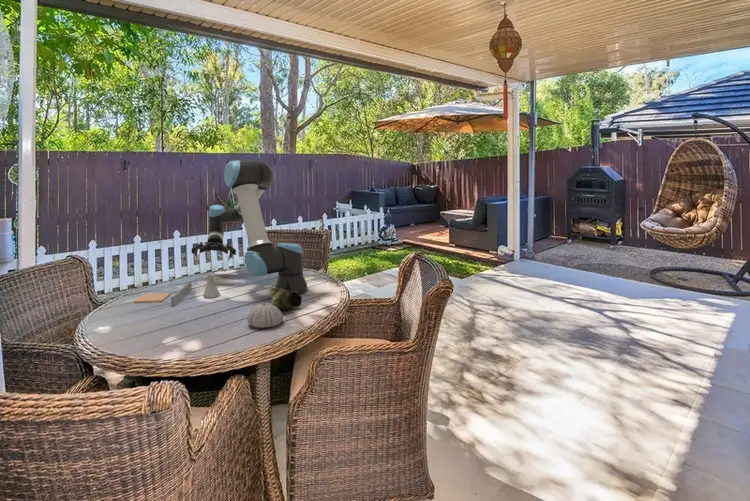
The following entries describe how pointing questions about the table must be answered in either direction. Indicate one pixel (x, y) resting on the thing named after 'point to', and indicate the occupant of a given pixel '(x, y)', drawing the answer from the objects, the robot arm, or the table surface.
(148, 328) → the table surface
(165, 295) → the terracotta tile
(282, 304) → the seashell
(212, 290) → the flask
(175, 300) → the low wall
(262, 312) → the sea urchin shell
